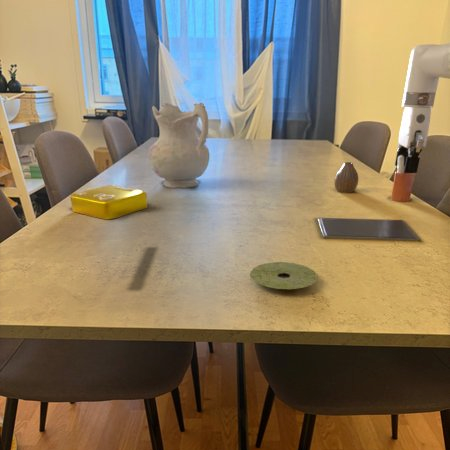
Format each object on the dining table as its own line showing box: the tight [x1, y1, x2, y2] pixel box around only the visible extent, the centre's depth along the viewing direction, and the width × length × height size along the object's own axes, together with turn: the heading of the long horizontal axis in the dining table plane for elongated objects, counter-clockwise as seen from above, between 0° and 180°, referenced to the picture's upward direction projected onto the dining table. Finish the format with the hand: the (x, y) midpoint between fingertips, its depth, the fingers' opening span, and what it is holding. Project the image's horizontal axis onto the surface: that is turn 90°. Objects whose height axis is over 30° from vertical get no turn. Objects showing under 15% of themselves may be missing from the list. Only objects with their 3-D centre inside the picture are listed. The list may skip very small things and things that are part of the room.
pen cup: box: [390, 170, 416, 203], centre depth 120 cm, size 5×5×8 cm
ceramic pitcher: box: [148, 102, 210, 189], centre depth 136 cm, size 22×20×25 cm
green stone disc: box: [249, 261, 319, 290], centre depth 73 cm, size 11×11×2 cm
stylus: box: [397, 155, 405, 174], centre depth 119 cm, size 2×2×12 cm
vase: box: [333, 161, 359, 194], centre depth 129 cm, size 7×7×9 cm
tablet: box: [317, 217, 421, 242], centre depth 98 cm, size 20×14×1 cm
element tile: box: [69, 184, 148, 220], centre depth 114 cm, size 15×15×5 cm
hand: (405, 169), depth 118 cm, fingers open, 9 cm apart
